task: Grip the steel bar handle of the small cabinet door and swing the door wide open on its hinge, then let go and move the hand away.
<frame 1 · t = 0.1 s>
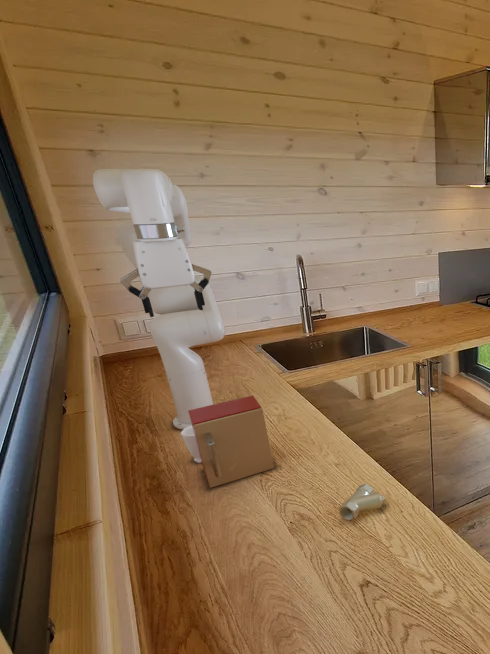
hand: (176, 312, 109), 37 cm above the worktop, tool pointing down, fingers open, 9 cm apart
valve cabinet: (238, 468, 117), on the worktop
pipe fitting: (365, 511, 101), on the worktop
cup: (203, 456, 123), on the worktop
cabinet door: (239, 453, 108), point 8 cm above the worktop, hinge at 0.0°
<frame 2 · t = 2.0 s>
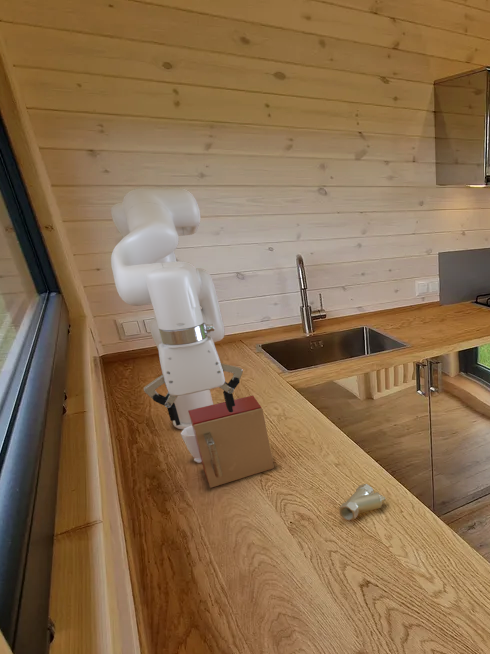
hand: (204, 416, 98), 20 cm above the worktop, tool pointing down, fingers open, 9 cm apart
nothing on the worktop moved.
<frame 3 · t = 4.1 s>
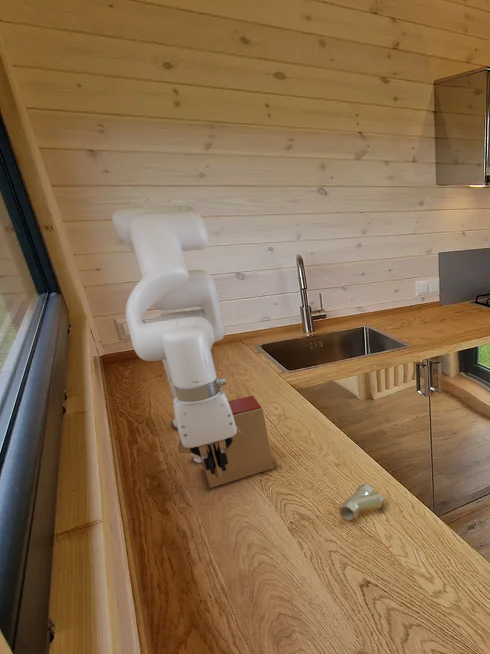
hand: (217, 469, 103), 8 cm above the worktop, tool pointing down, fingers closed
cabinet door: (239, 453, 108), point 8 cm above the worktop, hinge at 0.0°, touching gripper
everything else where it was.
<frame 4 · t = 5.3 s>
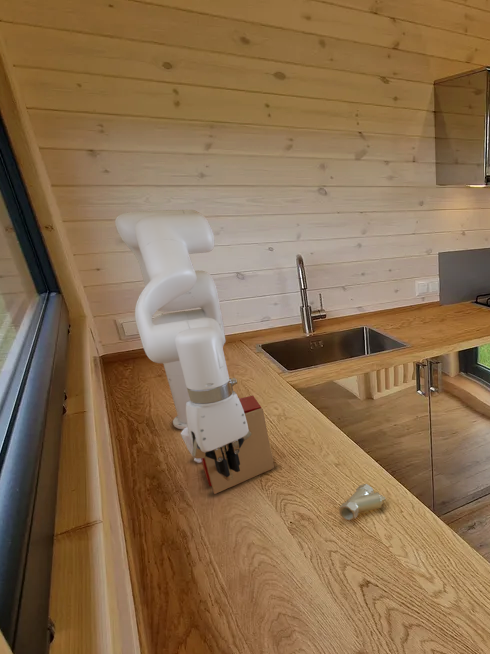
hand: (229, 471, 102), 8 cm above the worktop, tool pointing down, fingers closed
cabinet door: (244, 454, 107), point 8 cm above the worktop, hinge at 13.0°, touching gripper
everything else where it was.
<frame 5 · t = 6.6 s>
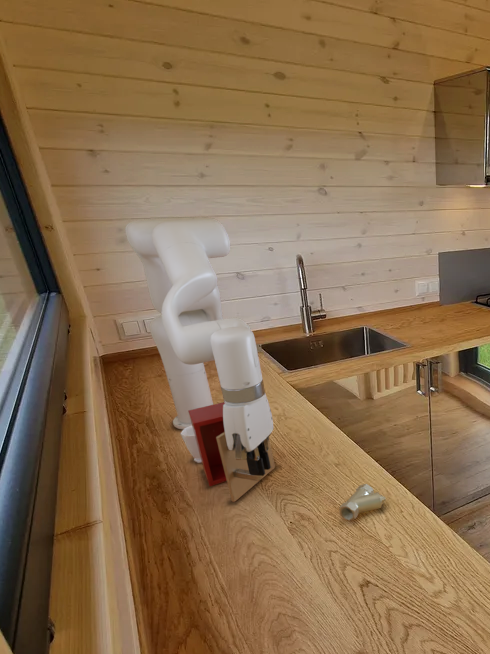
hand: (260, 471, 102), 8 cm above the worktop, tool pointing down, fingers closed
cabinet door: (259, 455, 107), point 8 cm above the worktop, hinge at 39.4°, touching gripper
everything else where it was.
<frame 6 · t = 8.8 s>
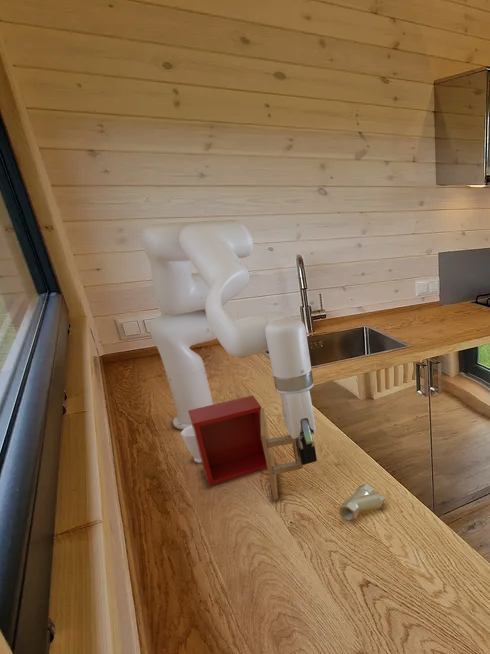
hand: (306, 457, 106), 8 cm above the worktop, tool pointing down, fingers open, 3 cm apart
cabinet door: (283, 449, 109), point 8 cm above the worktop, hinge at 77.1°
everything else where it was.
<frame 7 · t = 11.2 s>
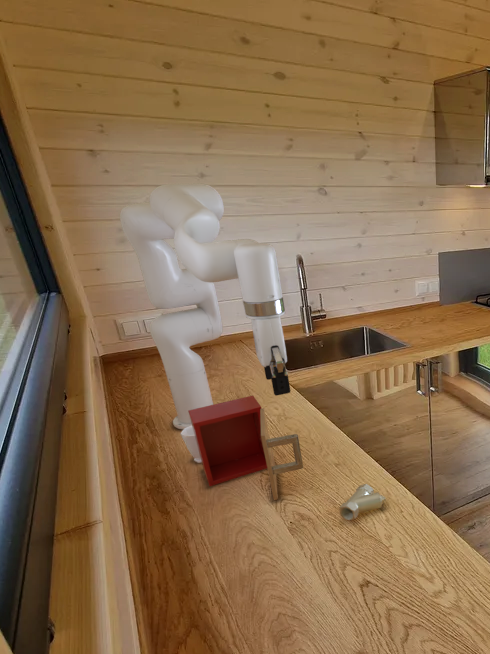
hand: (278, 385, 104), 23 cm above the worktop, tool pointing down, fingers open, 9 cm apart
nothing on the worktop moved.
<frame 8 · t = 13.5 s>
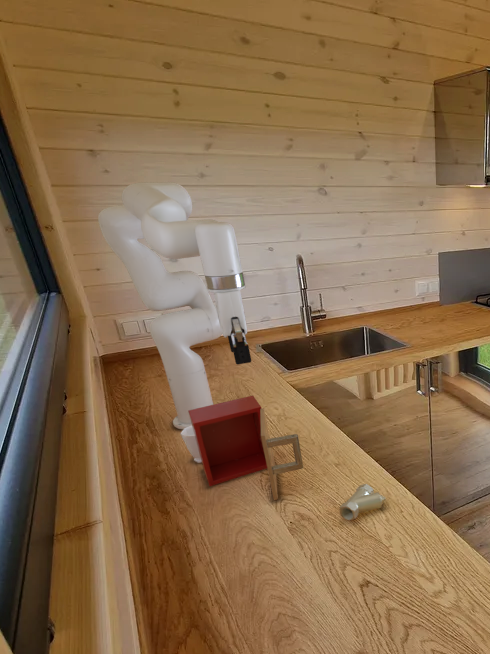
hand: (241, 356, 112), 26 cm above the worktop, tool pointing down, fingers open, 9 cm apart
nothing on the worktop moved.
at the end: cabinet door at +77° (first picture: +0°); the gripper is holding nothing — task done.
